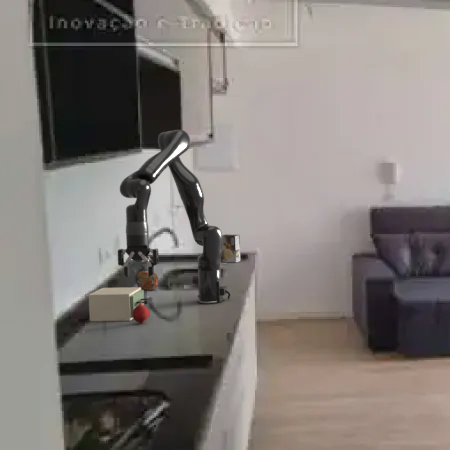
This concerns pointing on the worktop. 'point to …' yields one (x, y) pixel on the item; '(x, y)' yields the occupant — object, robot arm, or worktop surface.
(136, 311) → the onion
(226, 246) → the coffee box
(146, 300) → the green drawer
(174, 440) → the worktop surface
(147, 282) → the tin
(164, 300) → the worktop surface
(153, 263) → the robot arm
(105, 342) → the worktop surface
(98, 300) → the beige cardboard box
